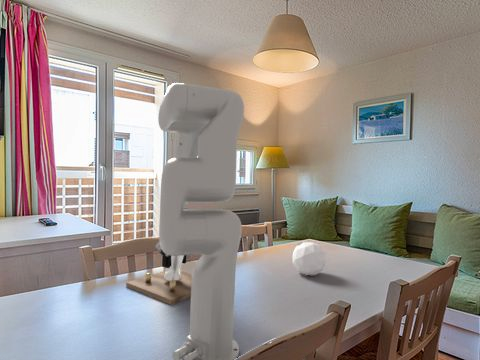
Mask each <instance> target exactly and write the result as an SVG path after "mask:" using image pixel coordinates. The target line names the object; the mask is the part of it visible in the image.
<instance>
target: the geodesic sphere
mask: <svg viewBox="0 0 480 360" xmlns="http://www.w3.org/2000/svg"><path fill="white" fill-rule="evenodd" d="M291 256H292V265H293V266H294V267H295V269H296V270H297V272H299V273H300V274H302V275H304V274H305V275H310V276H316V275H318V274H319V273H321V272H323V271H324V268H325V266H326V263H327V261H326V252H325V250H324V249H323V248H322V246H321V245H319V244H318V243H316V242H314V241H311V240H307V242H305V241H298V242H297V245H296V246H295V248H294V250H293V253H292V255H291ZM305 275H304V276H305Z"/></svg>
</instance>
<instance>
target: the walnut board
mask: <svg viewBox="0 0 480 360" xmlns="http://www.w3.org/2000/svg"><path fill="white" fill-rule="evenodd" d="M164 275H165V270H163V271H160V272H157V273H154V274H152V272H146V273H145V276H143V277H140V278H137V279H134V280H130V281H126V284H125V285H126V286H125V287H126V288H128V289H130V290H133V291H135V292H137V293H140V294H143V295H145V296H148V297H150V298H152V299H155V300H158V301H159V302H161V303H165V304H167V305H169V306H172V305H174V304H177V303H180V302H182V301H184V300H186V299H190V298H191V280H192V272H190V271H187V270H184V269H181V275H182V279H181V280H180V281H166V280H164Z"/></svg>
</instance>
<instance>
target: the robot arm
mask: <svg viewBox="0 0 480 360" xmlns="http://www.w3.org/2000/svg"><path fill="white" fill-rule="evenodd" d="M244 103H245V102H244V100H243V98H242V96H241V95H240V94H239V93H237V92H235V91H233V90H229V89H223V88H218V87H211V86H202V85H195V84H189V83H184V82H182V83H181V82H176V83H175V82H174V83H171V85H169V86H168V87H167V90H166V92H165V94H164V95H163V98H162V100H161V103H160V106H159V111H158V115H157V116H158V118H157V119H158V126H159V128H160V130H161V131H163V132H166V133H174V134H175V133H177V134H178V136H177V142H176V147H175V154H176V156H177V157H173V158H171V159H169V160H167V161H166V163H165V164H164V166H163V168H162V169H163V170H162V174H161V179H160V181H161V182H160V197H159V199H160V201H159V203H160V206H159V226H158V228H159V230H158V231H159V233H158V237H159V241H158V242H157V243H156V244H155V248H156V249H157V251H158V252H159V253H160V255H161V256H162V259H161V261H162V262H161V265H162V268H165V269H166V268H170V256H169V255H171V256H181V255H184V258H183V262H182V264H186V263H187V256H192V255H193V256H194V255H201V256H200V257H199V259H198V260H197V261H196V263H195V265H194V266H193V269H192V272H191V273H192V280H191V297H190V311H189V313H190V314H189V335H186V336H185V342H183V344H182V346H181V347H179V348H178V349H176V350H174V351H172V358H173V360H182V359H183V360H234V359H235V358H237V357H238V358H239V355H240V346H239V343H238V342H237V341H236V340H235V339H234V338H233V336H234V319H235V318H234V316H235V315H234V312H235V293H236V292H235V291H236V289H235V287H236V271H237V270H236V269H237V258H238V253H239V248H240V243H241V239H242V234H243V233H242V232H243V229H242V228H243V226H242V222H241V219H240V217H239V216H238V215H237V214H236V213H235V212H233V211H231V210H229V209H225V208H224V209H223V208H199V209H197V208H196V209H195V208H193V209H192V208H191V209H188V204H191V203H192V204H205V203H206V204H212V203H213V204H216V203H225V202H229V201H230V200H232V198H233V197H234V195H235V191H236V184H237V157H238V156H237V153H238V152H237V149H238V147H237V146H238V138H239V134H240V130H241V128H242V124H243V121H244V115H245V106H244V105H245V104H244ZM238 358H237V359H238Z"/></svg>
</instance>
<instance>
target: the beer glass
mask: <svg viewBox="0 0 480 360" xmlns="http://www.w3.org/2000/svg"><path fill="white" fill-rule="evenodd" d="M169 256H170V268H165V270H164V271H165V275H164V280H166V281H180V280H181V279H182V275H181V270H182V267H183V266H182V265H183V263H182V262H183V258H184V255H181V256H171V255H169Z"/></svg>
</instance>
